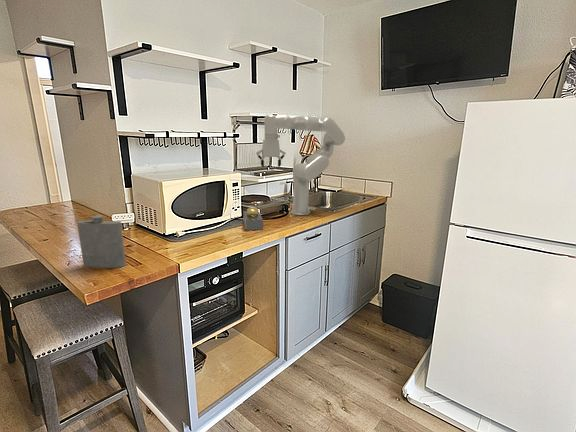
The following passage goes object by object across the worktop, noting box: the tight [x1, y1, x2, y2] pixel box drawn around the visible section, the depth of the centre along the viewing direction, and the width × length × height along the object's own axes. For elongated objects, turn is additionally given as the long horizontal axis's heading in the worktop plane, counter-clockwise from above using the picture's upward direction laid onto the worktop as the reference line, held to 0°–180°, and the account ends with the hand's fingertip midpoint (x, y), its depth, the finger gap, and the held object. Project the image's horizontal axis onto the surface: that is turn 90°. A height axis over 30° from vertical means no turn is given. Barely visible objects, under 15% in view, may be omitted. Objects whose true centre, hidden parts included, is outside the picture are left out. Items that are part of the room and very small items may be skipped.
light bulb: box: [246, 207, 259, 217], centre depth 183 cm, size 6×6×8 cm
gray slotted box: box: [242, 210, 264, 231], centre depth 184 cm, size 9×20×6 cm, turn 12°
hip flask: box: [76, 214, 127, 269], centre depth 125 cm, size 16×4×20 cm, turn 89°
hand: (270, 166), depth 196 cm, fingers open, 9 cm apart
